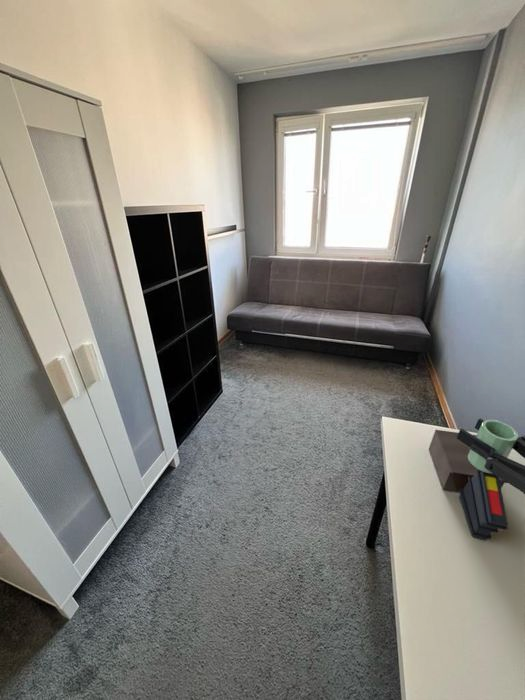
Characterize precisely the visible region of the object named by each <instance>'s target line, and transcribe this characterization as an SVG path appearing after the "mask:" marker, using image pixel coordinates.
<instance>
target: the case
mask: <svg viewBox="0 0 525 700" xmlns="http://www.w3.org/2000/svg"><path fill="white" fill-rule="evenodd" d="M428 452H429V456H430V458H431V461H432V463H433V466H434V467H433V468H434V469H435V472H436V476H437V477H438V481H439V484H440V486H441V489H442V491H447V492H451V493H457V494H461V493H460V488H461V487H462V488H464V487H465V485H466V484H467V483H468V477H467V476H461V475H454V474H452V473H451V471H450V468H449V466H448V463H447V461H446V458H445V456H444V453H443V451H442V448H441V445H440V443H439V440H438V438H437V435H436V433H435V432H434V433H433V435H432V439H431V442H430V444H429V447H428ZM504 485H505V483H503V482H500V487H501V489H502V488H503V486H504Z"/></svg>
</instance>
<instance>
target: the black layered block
mask: <svg viewBox="0 0 525 700" xmlns="http://www.w3.org/2000/svg"><path fill="white" fill-rule="evenodd" d="M458 499H459V502H460V505H461V508H462V511H463V515H464V516H465V520H466V524H467V526H468V531H469V533H470V536H471V537H472V538H474V539H477V540H478V539H479V540H483V541H487V540H492V533H498V532H499V530H498V529H502V530H508V527H509V523H508V519H507V512H506V509H505V503H504V498H503V493H502V488H501V487H500V482H499V477H498V476H496V475H495V474H493V473H486V472H483V471H481V470H477V474H476V475H475V476H474V477H470V476H469V477H468V483H467V484H466V485H465V487H464V488H462V487H461V488H460V493H459V496H458Z"/></svg>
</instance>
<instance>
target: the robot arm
mask: <svg viewBox="0 0 525 700" xmlns="http://www.w3.org/2000/svg"><path fill="white" fill-rule="evenodd" d="M484 421H485V420H484V419H482V418H478V419H477V421H476V424H475V426H474V429H475V430H477V431H479V429H480V427H481V424H482V422H484ZM457 433H458V436H457V439H458V440H460V441H461V442H463V443H464V444H466V445H467V446H469V447H470V449H471V450H472V451H474V452H475V453H477V454H478V455H480V456H481V457H483V458H484V459H485V460H486V463H485V466H484V467H485V468H486V469H487V470H489V471H490V472H492V473H493V474H495V475H496V476H498V477H499V478H501V479H503V480H504V481H506V482H507V483H506V484H509V485H510V486H512V487H513V488H514V489H517V490H518V491H519V492H521V493H523V494H524V495H525V465H524V464H522V463H519V462H518V461H515V460H513V459H511V458H508V457H507V458H506V457H504V456H502V455H500V454H498V453H495V450H496V449H494V448H492V447H491V446H489V445H488V444H486V443H485V442H483V441H481V440H480V439H478V438H477V437H475V436H473V435H474V434H472V433H471V432H469V431H467V430H465V429H464V428H461V429H459V431H458V432H457ZM512 450H513V451H515V452H516V453H517V454H519V456H521V457H522V458H523V459H525V434H522V435H521V436H518V439H517V441H516V443H515V445H514V446H513V448H512ZM496 459H497V460H498V461H497V460H496Z"/></svg>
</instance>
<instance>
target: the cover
mask: <svg viewBox="0 0 525 700" xmlns="http://www.w3.org/2000/svg"><path fill="white" fill-rule="evenodd" d="M434 433H436V435H437V438H438V440H439V443H440V445H441V448H442V451H443V453H444V456H445V458H446V461H447V463H448V466H449V468H450V471H451V473H452V474H454V475H461V476H467V477H469V476H470V477H474V476H475V475H476V474H477V470H479V469H477V468H476V467H474V466H473V465H472V464H471V463H470V461H469V460H468V454H469V451H470V447H469V446H467V445H466V444H464V443H463V442H461V441H460V440H458V439H457V436H458V433H459V432H455V431H449V430H442V429H435V430H434ZM472 435H473V436H475V437H476V436H477V434H472ZM499 482H503V483H504V484H508V483H507V482H506V481H504V480H503V479H501V478H499Z"/></svg>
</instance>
